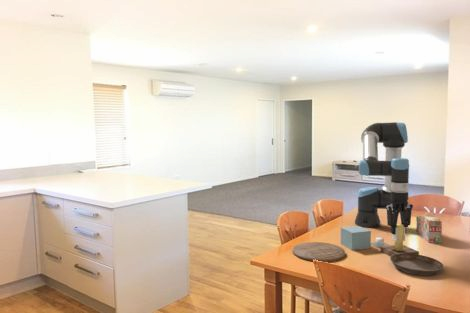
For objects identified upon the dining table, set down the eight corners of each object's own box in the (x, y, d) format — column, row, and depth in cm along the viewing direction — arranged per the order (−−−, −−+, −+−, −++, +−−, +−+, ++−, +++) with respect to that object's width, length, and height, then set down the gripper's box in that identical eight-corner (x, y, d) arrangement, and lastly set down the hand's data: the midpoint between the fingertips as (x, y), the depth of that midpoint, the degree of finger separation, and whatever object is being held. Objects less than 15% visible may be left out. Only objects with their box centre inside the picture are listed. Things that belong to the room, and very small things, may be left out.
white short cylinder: (369, 243, 194) (369, 235, 194) (382, 242, 196) (382, 234, 196) (378, 248, 187) (378, 240, 186) (392, 246, 189) (392, 238, 188)
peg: (392, 248, 177) (393, 224, 176) (399, 248, 177) (399, 223, 177) (397, 251, 173) (398, 225, 172) (404, 250, 174) (405, 225, 173)
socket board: (380, 251, 182) (380, 246, 182) (401, 248, 185) (401, 244, 185) (396, 259, 171) (396, 254, 171) (418, 256, 174) (418, 251, 174)
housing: (340, 243, 195) (340, 227, 194) (358, 242, 198) (358, 225, 197) (351, 250, 185) (352, 232, 184) (370, 248, 187) (370, 231, 187)
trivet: (283, 249, 188) (283, 246, 188) (324, 243, 198) (324, 239, 198) (311, 266, 165) (311, 262, 165) (356, 257, 175) (356, 254, 175)
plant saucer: (426, 259, 171) (426, 252, 171) (454, 277, 151) (454, 269, 150) (382, 260, 170) (382, 253, 170) (404, 278, 150) (404, 270, 150)
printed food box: (416, 231, 216) (416, 210, 215) (427, 232, 214) (428, 211, 214) (428, 243, 195) (429, 220, 194) (441, 243, 193) (442, 220, 193)
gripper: (389, 193, 168) (388, 244, 169) (420, 191, 172) (419, 241, 173) (379, 191, 175) (378, 239, 177) (408, 189, 179) (407, 236, 181)
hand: (398, 240), depth 175 cm, fingers closed on peg, 3 cm apart
